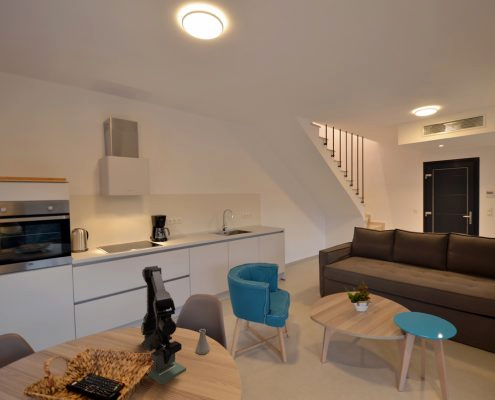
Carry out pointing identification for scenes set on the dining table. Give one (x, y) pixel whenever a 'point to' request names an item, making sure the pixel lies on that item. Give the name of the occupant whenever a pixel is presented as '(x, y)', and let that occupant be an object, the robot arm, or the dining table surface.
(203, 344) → the grey flared piece
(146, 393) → the dining table surface
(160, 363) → the block
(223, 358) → the dining table surface
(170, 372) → the header board
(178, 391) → the dining table surface
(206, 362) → the dining table surface
